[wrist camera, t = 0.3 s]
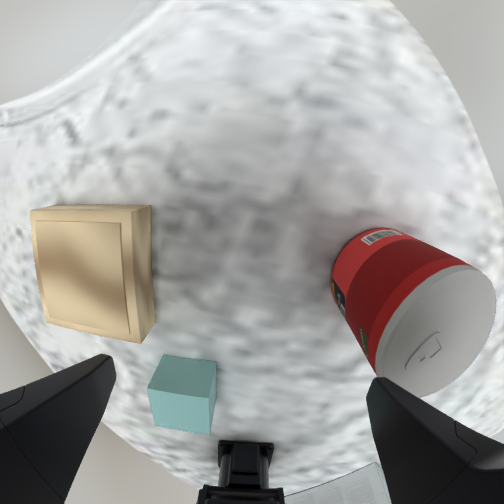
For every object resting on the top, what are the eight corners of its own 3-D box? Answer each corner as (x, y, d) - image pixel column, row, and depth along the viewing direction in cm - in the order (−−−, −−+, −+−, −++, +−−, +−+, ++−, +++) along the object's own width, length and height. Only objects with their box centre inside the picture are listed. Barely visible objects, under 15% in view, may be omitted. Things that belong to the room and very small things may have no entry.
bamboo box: (156, 319, 23) (140, 344, 19) (68, 304, 23) (45, 323, 19) (152, 204, 21) (130, 211, 17) (57, 204, 21) (28, 211, 17)
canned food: (309, 287, 22) (347, 376, 11) (369, 205, 20) (458, 234, 10) (373, 329, 23) (427, 412, 12) (427, 258, 21) (511, 310, 11)
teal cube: (216, 398, 25) (209, 434, 21) (168, 391, 25) (155, 425, 21) (216, 361, 24) (208, 398, 19) (163, 354, 24) (147, 388, 19)
